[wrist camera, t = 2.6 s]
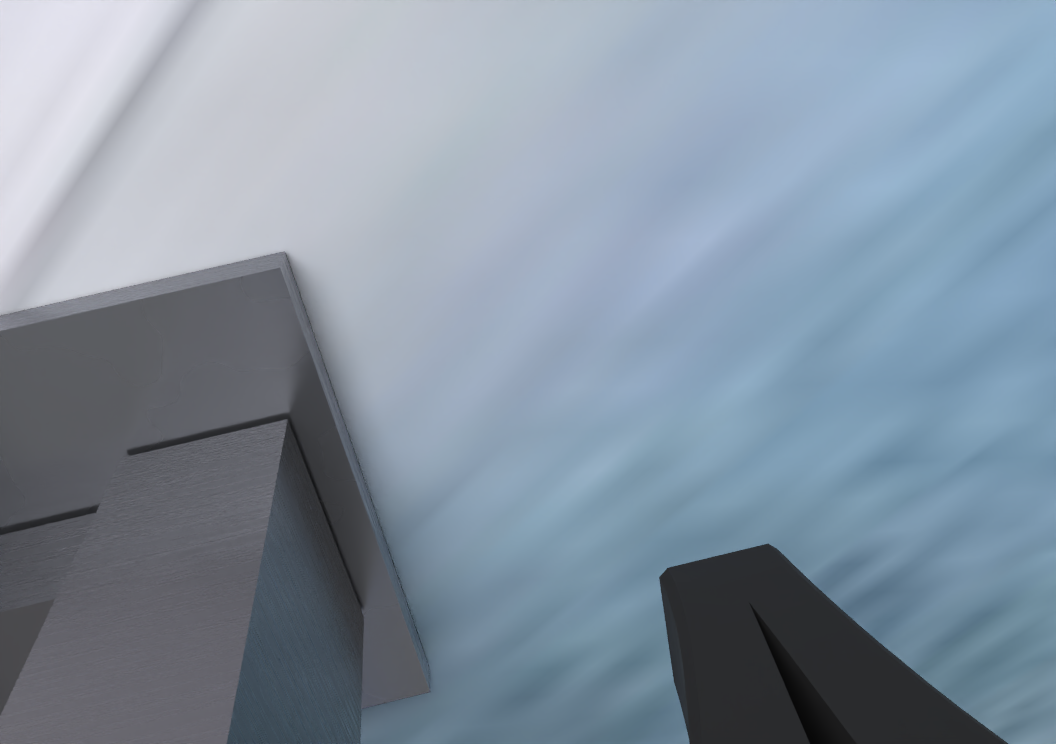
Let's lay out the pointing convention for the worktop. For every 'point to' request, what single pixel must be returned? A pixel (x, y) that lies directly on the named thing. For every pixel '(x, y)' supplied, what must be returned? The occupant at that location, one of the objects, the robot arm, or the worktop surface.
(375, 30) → the worktop surface
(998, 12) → the worktop surface
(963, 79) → the worktop surface
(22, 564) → the dark gray rectangular block
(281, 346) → the socket
